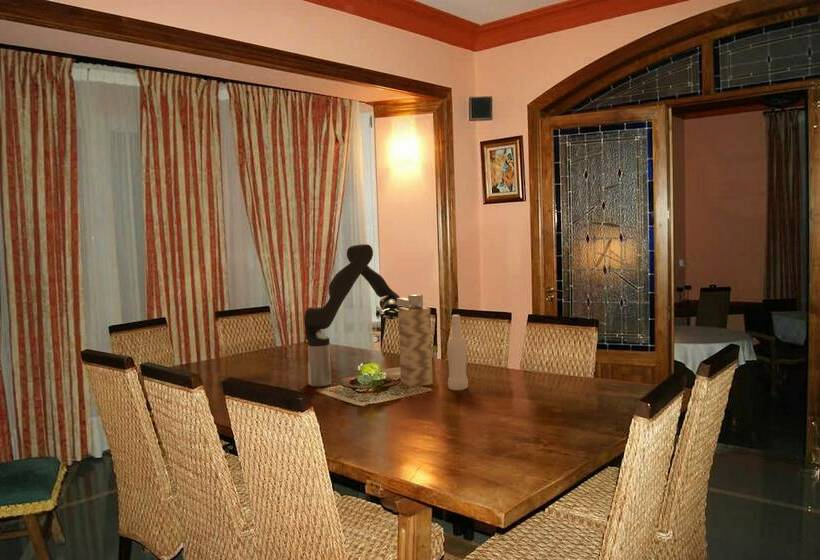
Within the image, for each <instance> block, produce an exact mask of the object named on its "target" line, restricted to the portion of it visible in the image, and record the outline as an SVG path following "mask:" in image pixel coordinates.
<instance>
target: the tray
mask: <svg viewBox="0 0 820 560" xmlns="http://www.w3.org/2000/svg"><path fill="white" fill-rule="evenodd" d="M380 370H382V371H384V372H386V373H387V374H388V375H387V377H392V378H401V372H400V366H399V367H398V366H397V367H391V368H384V369H383V368H382V369H380Z"/></svg>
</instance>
